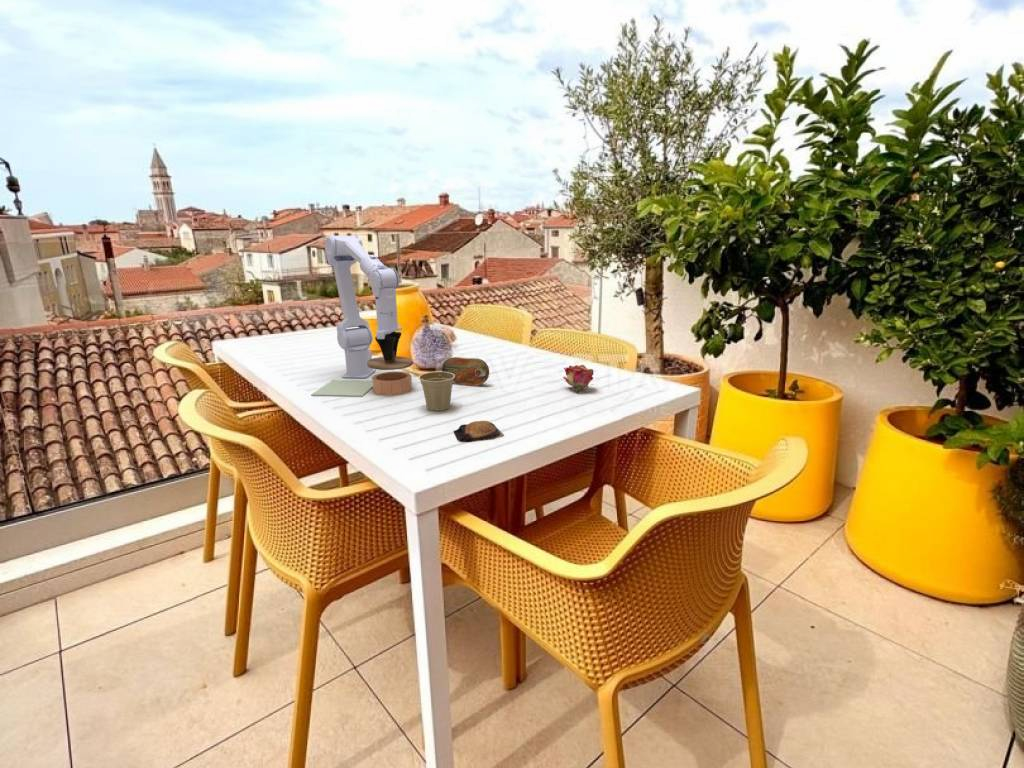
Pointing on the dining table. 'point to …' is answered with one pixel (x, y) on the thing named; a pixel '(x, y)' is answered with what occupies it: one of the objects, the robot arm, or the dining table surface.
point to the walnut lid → (389, 363)
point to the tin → (467, 370)
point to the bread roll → (477, 431)
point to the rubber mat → (345, 388)
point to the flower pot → (437, 389)
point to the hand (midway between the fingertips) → (390, 358)
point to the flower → (578, 376)
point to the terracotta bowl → (392, 383)
